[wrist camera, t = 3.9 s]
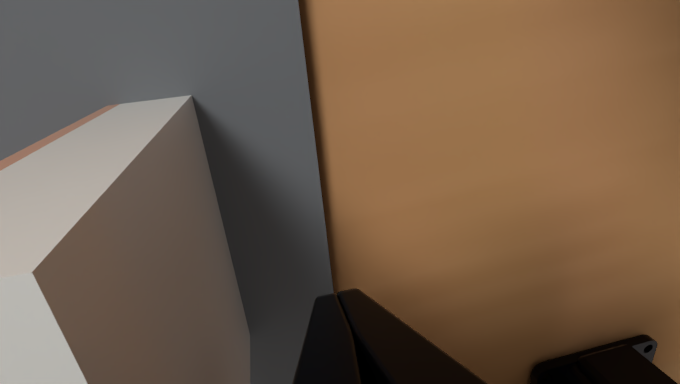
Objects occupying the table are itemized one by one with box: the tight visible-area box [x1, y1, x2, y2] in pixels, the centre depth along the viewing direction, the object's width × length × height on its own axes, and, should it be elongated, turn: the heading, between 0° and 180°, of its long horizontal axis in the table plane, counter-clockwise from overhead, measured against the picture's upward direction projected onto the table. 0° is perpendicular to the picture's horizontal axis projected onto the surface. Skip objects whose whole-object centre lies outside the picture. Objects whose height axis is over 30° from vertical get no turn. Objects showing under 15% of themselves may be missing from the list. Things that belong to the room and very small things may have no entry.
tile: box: [0, 95, 250, 384], centre depth 8 cm, size 8×2×8 cm, turn 5°
